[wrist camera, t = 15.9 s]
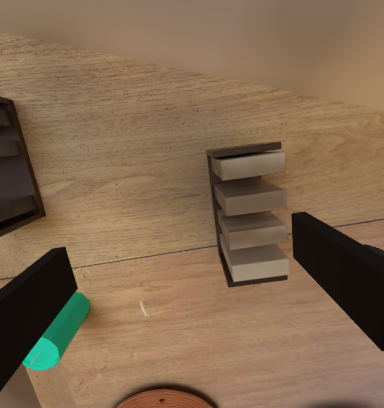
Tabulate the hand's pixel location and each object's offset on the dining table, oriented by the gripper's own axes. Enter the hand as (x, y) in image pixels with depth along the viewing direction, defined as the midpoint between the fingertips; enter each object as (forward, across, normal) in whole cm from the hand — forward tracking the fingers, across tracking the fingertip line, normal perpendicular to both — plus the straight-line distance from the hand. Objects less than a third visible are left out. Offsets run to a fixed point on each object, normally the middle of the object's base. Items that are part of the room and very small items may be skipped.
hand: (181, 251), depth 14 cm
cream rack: (+26, +8, -5) cm, 27 cm away
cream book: (+24, +8, -10) cm, 28 cm away
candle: (+25, -24, -19) cm, 40 cm away
